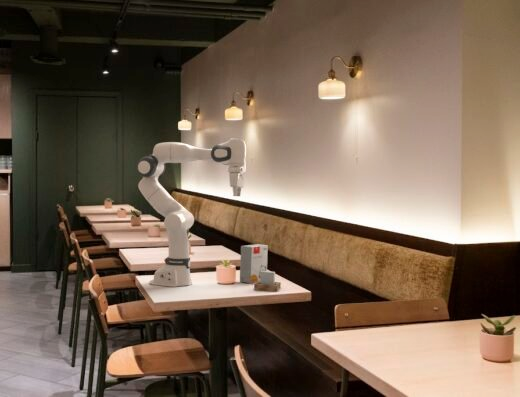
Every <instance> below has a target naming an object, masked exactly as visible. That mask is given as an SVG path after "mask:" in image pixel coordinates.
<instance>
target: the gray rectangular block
mask: <svg viewBox="0 0 520 397" xmlns="http://www.w3.org/2000/svg"><path fill="white" fill-rule="evenodd" d="M275 280H276V272H275V271H269V270H267V271H261V280H260V284H265V285H275V282H276V281H275Z"/></svg>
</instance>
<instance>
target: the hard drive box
mask: <svg viewBox="0 0 520 397" xmlns="http://www.w3.org/2000/svg"><path fill="white" fill-rule="evenodd" d="M268 250H269V246H268V245H267V244H248V245H241V246H240V263H239V264H240V265H239V266H240V267H239V282H240V283H241V282H242V283H248V284H255V283H256V282H258V281H260V280H261V271H268V255H269V254H268Z"/></svg>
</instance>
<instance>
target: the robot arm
mask: <svg viewBox="0 0 520 397" xmlns="http://www.w3.org/2000/svg"><path fill="white" fill-rule="evenodd" d="M246 157H247V146H246V142H245V141H244V140H243V139H241V138H236V137H231V138H230V139H229V140H227V141H226V142H222V143H219V144H216V145H214V146H213V147H212V148H201V147H196V146H193V145H190V144H187V143H184V142H179V141H177V142H176V141H168V142H167V141H165V142H159V143H156V144H155V145H154V147H153V150H152V154H150V153H149V154H147V155H145V156H143V157H141V158H140V159H139V160H138V161H137V162H136V164H135V165H136V166H135V167H136V168H135V169H136V172H137V173H138V175H140V177H142V179H141V180H140V181H139V182H138V184H137V185H138V189H139V191H140V193H141V194H142V196H143V197H144V198H145V200H146V201H147V202H148V203H149V205H150V206H151V207H152V208H153V209H154V210H155V211H156V212H157V214H160V215H161V216H163V217H164V221H163V223H164V227H165V230H166V235H167V240H168V256H167V257H166V258H165V259H163V260H164V264H163V265H162V266H161V267H159V268H158V269H156V271H155V272H154V274H153V279H150V281H149V282H148V283H149V285H154V286H163V287H170V288H171V287H182V286H183V287H185V286H190V285H192V284H193V282H192V278H191V270H190V269H191V257H190V248H191V247H190V244H191V243H190V241H189V237H188V231H187V230H189V229H191V227H192V226H193V225H194V224H195V223H194V222H195V216H194V215H193V213H192V212H190V211H189V210H187V209H186V208H185V207H184V205H182V204H181V203H180V202H178V201H177V200H176V199H174V198H173V196H172V195H170V193H169V192H168V191H167V190H166V189H165V188H164V186H163V185H162V184H161V183H160V182H159V180H160V179H161V178H162V176H163V174H164V173H165V171H166V164H169V163H170V164H180V163H188V162H189V163H190V162H196V161H211V162H215V163H219V164H222V165H226V166H227V165H228V170H227V173H229V174H228V175H229V187H230V188H232V193H233V194H232V196H233V197H241V194H242V193H241V192H242V189H243V188H244V187H245V184H244V183H245V182H244V180H245V179H244V174H246V172H247V162H246Z"/></svg>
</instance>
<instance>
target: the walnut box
mask: <svg viewBox="0 0 520 397" xmlns="http://www.w3.org/2000/svg"><path fill="white" fill-rule="evenodd" d="M281 284H282V282H280V281H279V282H278V281H275V285H265V284H260V281H258V282H255V283H253V287H254V288H253V290H254V291H264V292H279V290H280V289H281Z"/></svg>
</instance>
